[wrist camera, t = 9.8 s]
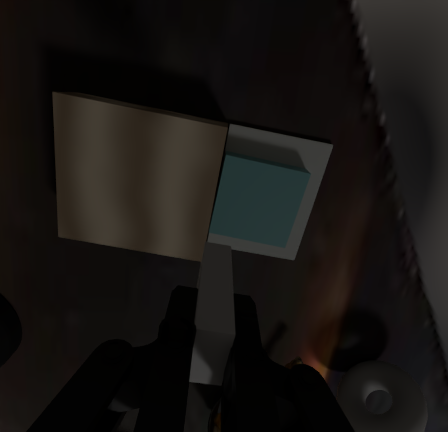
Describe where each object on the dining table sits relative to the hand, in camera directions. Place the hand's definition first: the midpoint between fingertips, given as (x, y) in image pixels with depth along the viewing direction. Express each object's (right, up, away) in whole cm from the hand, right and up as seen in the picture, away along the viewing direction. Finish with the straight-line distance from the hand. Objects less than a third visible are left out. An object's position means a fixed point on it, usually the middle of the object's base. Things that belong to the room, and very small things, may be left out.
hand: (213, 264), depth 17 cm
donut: (+19, -17, +22) cm, 34 cm away
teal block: (+4, +5, +13) cm, 14 cm away
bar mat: (+5, +5, +13) cm, 15 cm away
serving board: (-7, +7, +12) cm, 16 cm away
